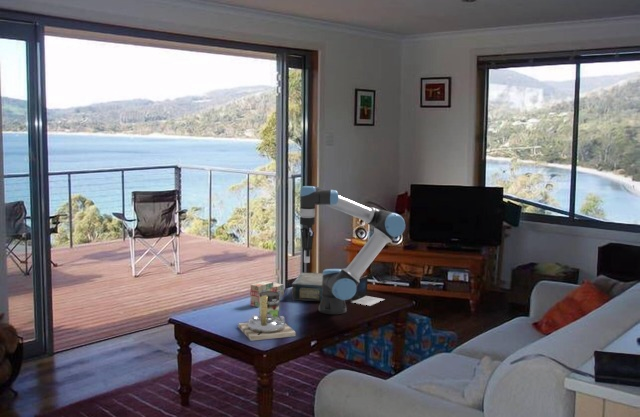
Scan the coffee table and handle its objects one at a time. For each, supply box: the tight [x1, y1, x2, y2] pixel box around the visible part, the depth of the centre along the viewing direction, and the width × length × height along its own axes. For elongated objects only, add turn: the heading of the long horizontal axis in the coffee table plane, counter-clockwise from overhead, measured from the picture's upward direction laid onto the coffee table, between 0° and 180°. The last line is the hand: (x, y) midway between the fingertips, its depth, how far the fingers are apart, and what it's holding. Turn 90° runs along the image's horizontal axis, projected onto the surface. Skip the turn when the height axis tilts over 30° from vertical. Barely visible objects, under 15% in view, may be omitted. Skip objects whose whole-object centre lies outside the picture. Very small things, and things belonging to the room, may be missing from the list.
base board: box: [238, 322, 296, 342], centre depth 322 cm, size 22×22×2 cm
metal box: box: [291, 272, 323, 302], centre depth 396 cm, size 21×32×10 cm, turn 172°
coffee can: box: [258, 291, 280, 317], centre depth 341 cm, size 10×10×14 cm
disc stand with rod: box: [247, 295, 286, 333], centre depth 321 cm, size 18×18×17 cm
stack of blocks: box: [249, 280, 285, 308], centre depth 374 cm, size 21×6×12 cm, turn 143°
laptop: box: [350, 275, 386, 307], centre depth 382 cm, size 18×12×13 cm
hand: (306, 262), depth 339 cm, fingers closed
